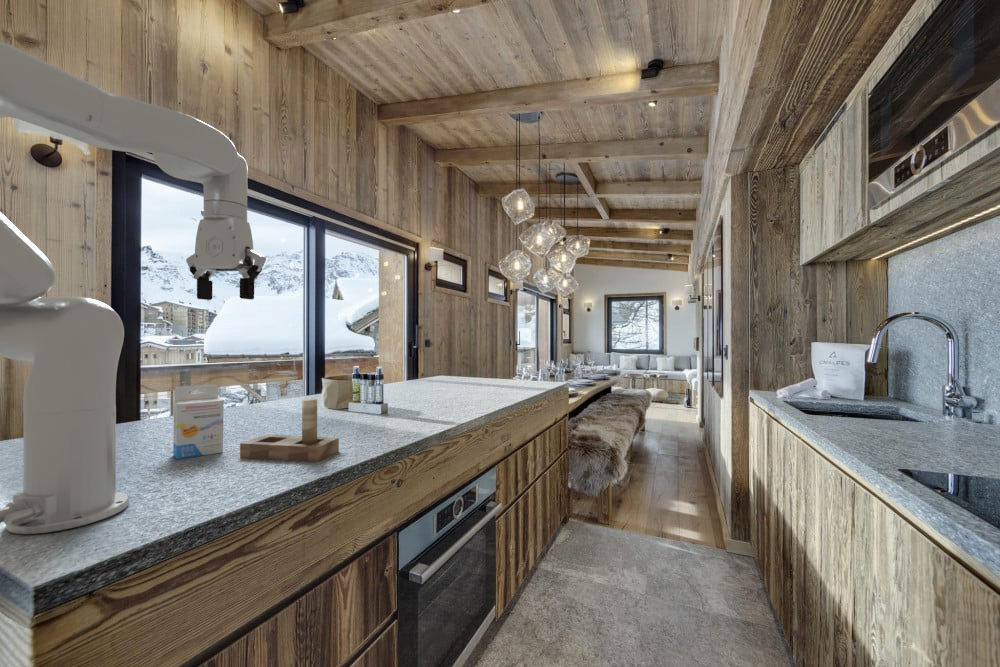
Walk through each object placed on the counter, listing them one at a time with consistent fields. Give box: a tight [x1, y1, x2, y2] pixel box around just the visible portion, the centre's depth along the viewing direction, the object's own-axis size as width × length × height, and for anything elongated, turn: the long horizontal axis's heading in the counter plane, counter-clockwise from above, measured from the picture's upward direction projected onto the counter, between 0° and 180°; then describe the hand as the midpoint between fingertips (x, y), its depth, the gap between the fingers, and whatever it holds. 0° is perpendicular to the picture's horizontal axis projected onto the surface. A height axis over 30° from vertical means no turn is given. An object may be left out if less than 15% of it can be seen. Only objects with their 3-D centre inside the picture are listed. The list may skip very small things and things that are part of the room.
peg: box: [301, 398, 318, 445], centre depth 94 cm, size 3×3×12 cm
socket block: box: [239, 434, 340, 463], centre depth 95 cm, size 8×18×3 cm, turn 81°
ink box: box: [172, 383, 224, 460], centre depth 95 cm, size 8×5×15 cm, turn 134°
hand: (225, 299), depth 88 cm, fingers open, 9 cm apart
